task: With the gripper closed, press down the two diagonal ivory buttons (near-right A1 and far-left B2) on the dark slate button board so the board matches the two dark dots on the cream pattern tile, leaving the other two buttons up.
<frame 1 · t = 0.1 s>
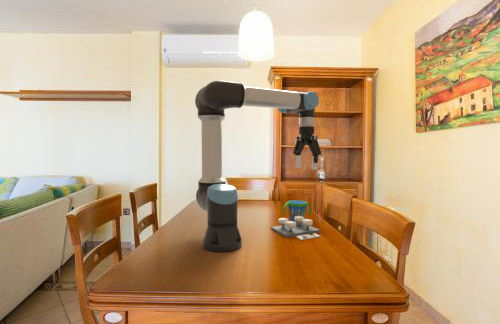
hand: (306, 168, 141), 28 cm above the table, fingers open, 13 cm apart
button A2: (283, 222, 130), point 3 cm above the table, slide at 0.0 cm
button board: (295, 230, 130), on the table
snack cup: (297, 221, 147), on the table
button B2: (299, 220, 134), point 4 cm above the table, slide at 0.0 cm
button B1: (307, 224, 128), point 3 cm above the table, slide at 0.0 cm
pattern tile: (308, 237, 121), on the table
button A1: (290, 226, 125), point 4 cm above the table, slide at 0.0 cm
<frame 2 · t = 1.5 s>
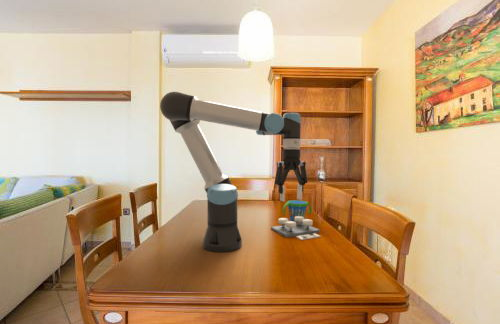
hand: (291, 200, 124), 15 cm above the table, fingers open, 8 cm apart
nothing on the table moved.
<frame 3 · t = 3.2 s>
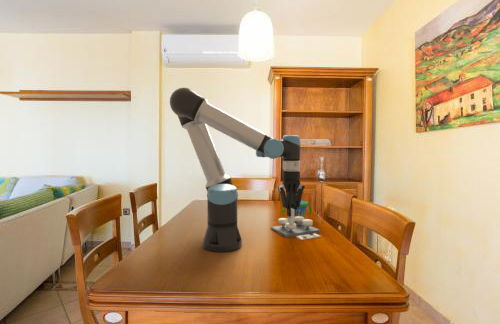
hand: (291, 223, 125), 5 cm above the table, fingers closed
button A1: (290, 227, 125), point 3 cm above the table, slide at 0.6 cm, touching gripper
everything else where it was.
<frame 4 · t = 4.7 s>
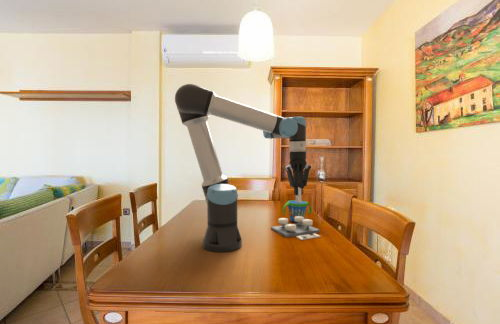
hand: (298, 201, 130), 13 cm above the table, fingers closed
button A1: (290, 229, 125), point 2 cm above the table, slide at 1.3 cm
everything else where it was.
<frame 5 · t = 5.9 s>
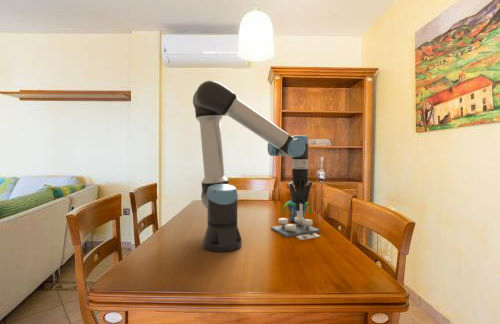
hand: (299, 217, 134), 5 cm above the table, fingers closed
button B2: (299, 221, 134), point 3 cm above the table, slide at 0.3 cm, touching gripper
everything else where it was.
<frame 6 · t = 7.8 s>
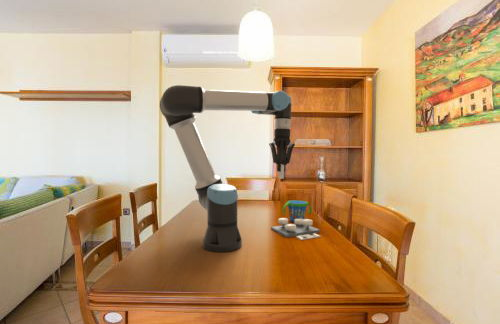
hand: (280, 178, 133), 24 cm above the table, fingers closed
button B2: (299, 223, 134), point 2 cm above the table, slide at 1.2 cm
everything else where it was.
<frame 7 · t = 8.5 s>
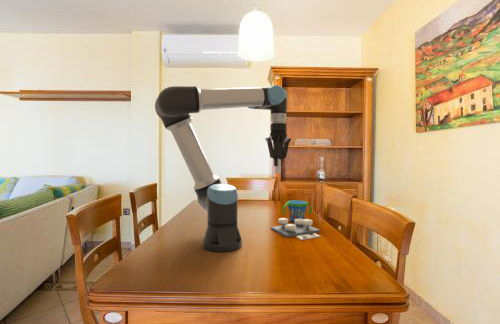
hand: (278, 173, 133), 26 cm above the table, fingers closed
nothing on the table moved.
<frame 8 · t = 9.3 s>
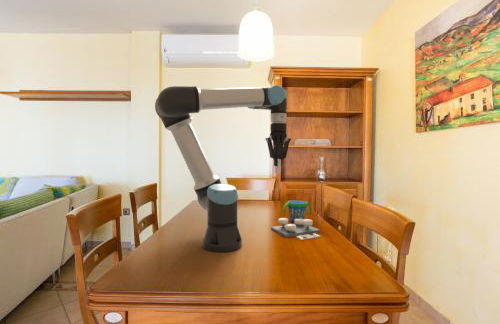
hand: (278, 173, 133), 26 cm above the table, fingers closed
nothing on the table moved.
at the end: button A1 slide at 1.3 cm; button B2 slide at 1.2 cm; button A2 slide at 0.0 cm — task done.
